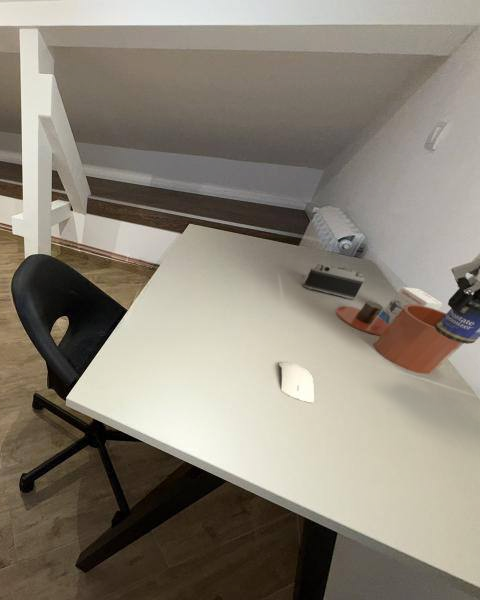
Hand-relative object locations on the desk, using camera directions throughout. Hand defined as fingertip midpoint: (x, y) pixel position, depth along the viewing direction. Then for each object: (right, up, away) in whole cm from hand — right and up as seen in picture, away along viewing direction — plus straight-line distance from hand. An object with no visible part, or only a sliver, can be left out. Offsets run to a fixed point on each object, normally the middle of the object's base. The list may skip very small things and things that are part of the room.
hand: (475, 312), depth 63 cm
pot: (+6, -13, +21) cm, 25 cm away
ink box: (+18, -6, +33) cm, 38 cm away
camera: (+9, +6, +49) cm, 51 cm away
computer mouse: (-30, -17, +9) cm, 36 cm away
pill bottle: (0, -5, +3) cm, 6 cm away
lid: (+7, -4, +33) cm, 34 cm away
